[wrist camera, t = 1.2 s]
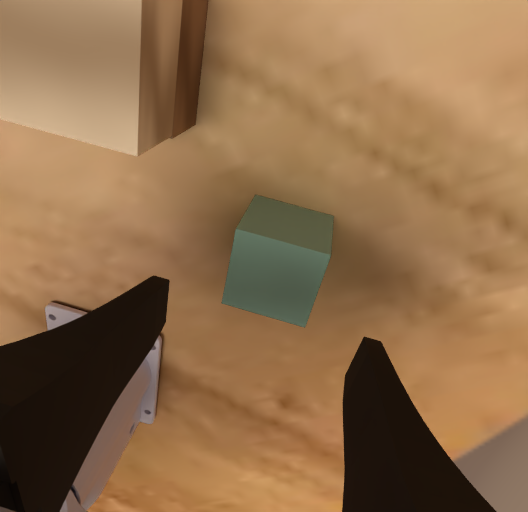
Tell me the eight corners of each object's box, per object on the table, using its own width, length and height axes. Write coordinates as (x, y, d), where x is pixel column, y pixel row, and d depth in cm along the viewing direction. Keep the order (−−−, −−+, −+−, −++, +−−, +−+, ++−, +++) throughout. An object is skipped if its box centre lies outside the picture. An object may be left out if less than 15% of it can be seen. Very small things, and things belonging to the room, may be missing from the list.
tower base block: (196, 123, 18) (172, 138, 15) (96, 97, 18) (55, 108, 15) (210, -3, 15) (182, -11, 12) (92, -32, 15) (42, -45, 13)
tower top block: (172, 135, 15) (137, 156, 13) (55, 104, 15) (-3, 118, 13) (184, -15, 12) (142, -28, 10) (41, -50, 13) (-35, -71, 10)
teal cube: (311, 279, 21) (305, 327, 17) (241, 259, 21) (221, 303, 17) (333, 215, 19) (331, 255, 15) (255, 193, 19) (236, 228, 15)
